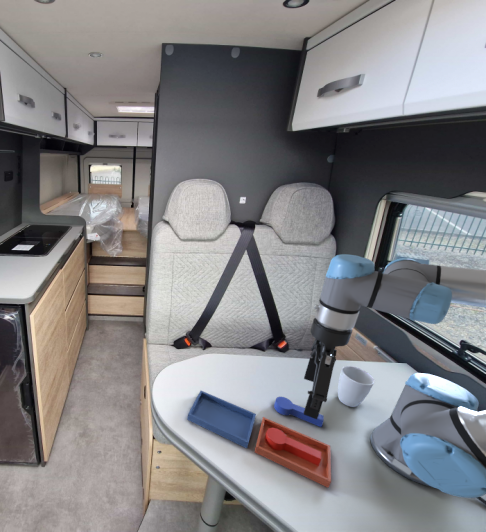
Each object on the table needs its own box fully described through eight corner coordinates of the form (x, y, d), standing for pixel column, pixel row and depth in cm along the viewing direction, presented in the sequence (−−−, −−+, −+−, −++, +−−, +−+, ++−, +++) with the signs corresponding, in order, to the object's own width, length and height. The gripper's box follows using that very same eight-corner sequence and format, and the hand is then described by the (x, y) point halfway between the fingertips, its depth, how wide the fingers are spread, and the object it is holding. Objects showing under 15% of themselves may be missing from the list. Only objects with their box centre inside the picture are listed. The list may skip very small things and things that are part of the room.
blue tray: (254, 419, 87) (256, 413, 86) (246, 448, 78) (248, 442, 77) (199, 395, 94) (200, 390, 94) (187, 419, 86) (187, 414, 85)
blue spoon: (321, 418, 88) (323, 412, 87) (321, 430, 84) (323, 424, 83) (275, 400, 94) (276, 394, 93) (272, 410, 90) (274, 404, 89)
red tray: (328, 451, 79) (330, 445, 78) (328, 488, 70) (331, 482, 69) (261, 422, 86) (262, 416, 85) (254, 452, 77) (255, 446, 77)
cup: (368, 413, 91) (380, 387, 87) (338, 408, 92) (349, 381, 88) (356, 393, 98) (366, 368, 94) (328, 388, 100) (337, 363, 96)
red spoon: (318, 454, 77) (321, 447, 76) (318, 470, 73) (321, 463, 72) (266, 431, 83) (268, 424, 82) (263, 444, 79) (265, 438, 78)
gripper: (313, 297, 81) (294, 363, 88) (315, 346, 60) (291, 427, 68) (346, 304, 77) (324, 372, 85) (361, 359, 57) (330, 442, 64)
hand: (309, 396), depth 76 cm, fingers open, 13 cm apart
